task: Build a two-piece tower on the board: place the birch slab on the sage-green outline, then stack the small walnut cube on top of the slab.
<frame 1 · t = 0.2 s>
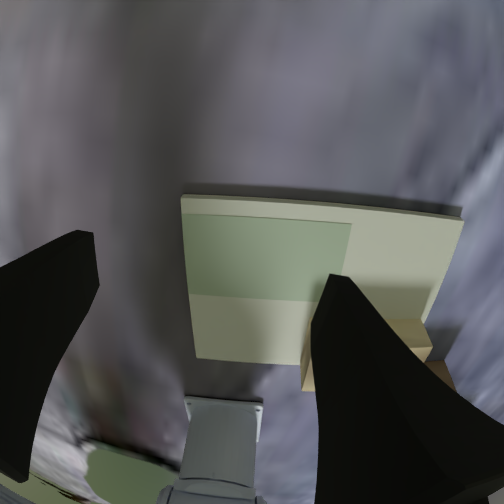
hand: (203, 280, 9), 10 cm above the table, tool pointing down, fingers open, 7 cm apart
birch slab: (360, 341, 24), point 1 cm above the table, touching board
board: (319, 296, 22), on the table
walnut cube: (416, 375, 27), on the table
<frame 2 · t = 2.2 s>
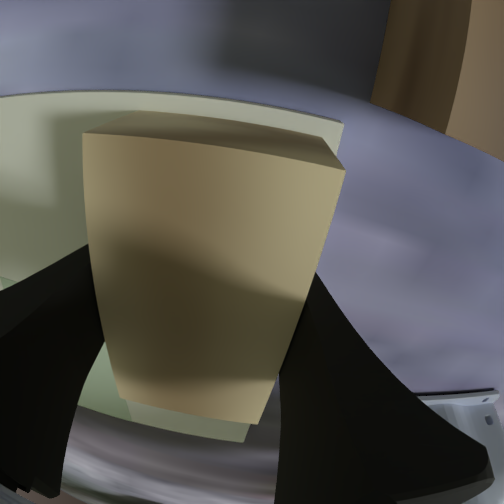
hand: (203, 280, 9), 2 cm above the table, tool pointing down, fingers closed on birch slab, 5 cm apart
birch slab: (209, 261, 10), point 1 cm above the table, touching board, gripper
board: (113, 314, 13), on the table
walnut cube: (449, 60, 7), on the table
when the fingers open (3 cm above the table, at t = 5.5 s): birch slab stays where it is, resting on board.
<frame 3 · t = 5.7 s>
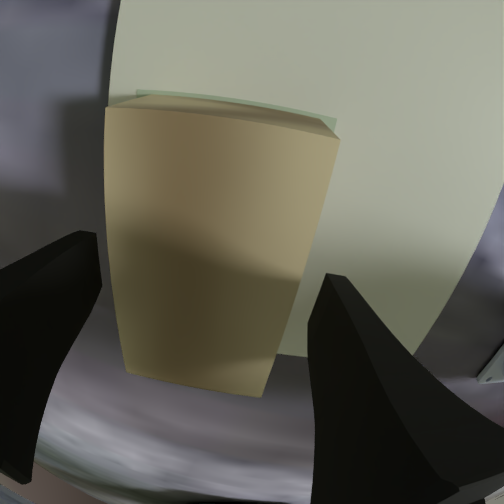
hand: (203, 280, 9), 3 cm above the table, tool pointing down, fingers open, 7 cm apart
birch slab: (215, 236, 11), point 1 cm above the table, touching board
board: (326, 145, 10), on the table
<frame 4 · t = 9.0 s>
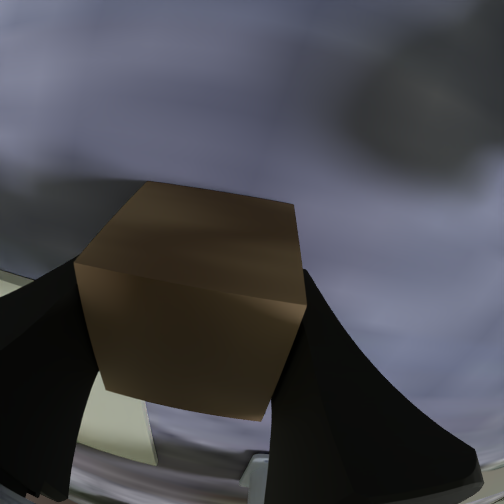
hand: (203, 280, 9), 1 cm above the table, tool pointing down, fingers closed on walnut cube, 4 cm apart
board: (49, 381, 17), on the table
walnut cube: (211, 254, 11), on the table, touching gripper
when the fingers open (6 cm above the table, at t = 12.1 s): walnut cube stays where it is, resting on birch slab.
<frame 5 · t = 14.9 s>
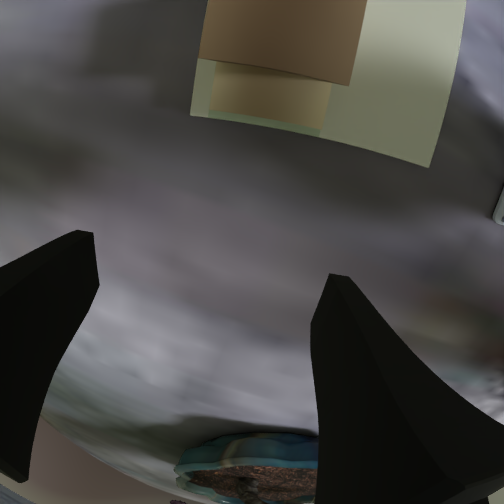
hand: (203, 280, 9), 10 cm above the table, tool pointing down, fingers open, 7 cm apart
birch slab: (281, 30, 13), point 1 cm above the table, touching board, walnut cube
bonsai tree: (250, 453, 39), on the table
walnut cube: (282, 22, 11), point 4 cm above the table, touching birch slab
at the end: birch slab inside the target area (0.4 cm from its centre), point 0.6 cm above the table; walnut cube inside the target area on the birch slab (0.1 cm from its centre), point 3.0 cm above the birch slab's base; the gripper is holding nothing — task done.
